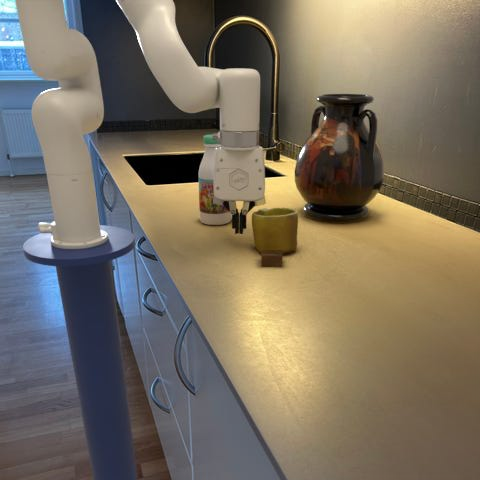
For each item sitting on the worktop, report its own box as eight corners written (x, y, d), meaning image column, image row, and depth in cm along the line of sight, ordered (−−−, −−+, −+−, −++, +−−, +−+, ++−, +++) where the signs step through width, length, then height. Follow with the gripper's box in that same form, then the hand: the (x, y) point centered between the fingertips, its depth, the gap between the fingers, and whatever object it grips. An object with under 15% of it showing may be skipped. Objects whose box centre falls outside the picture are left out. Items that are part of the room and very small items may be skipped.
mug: (312, 247, 101) (297, 199, 99) (264, 266, 101) (247, 218, 98) (299, 240, 113) (285, 197, 110) (255, 256, 113) (240, 213, 110)
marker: (261, 266, 98) (261, 254, 97) (261, 261, 100) (261, 249, 99) (282, 266, 98) (282, 255, 97) (281, 261, 100) (281, 249, 99)
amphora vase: (396, 217, 128) (413, 95, 115) (339, 233, 116) (350, 100, 103) (332, 200, 143) (340, 91, 130) (275, 213, 131) (278, 95, 118)
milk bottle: (197, 217, 128) (194, 133, 119) (228, 216, 129) (227, 132, 120) (202, 226, 121) (199, 138, 112) (234, 224, 123) (233, 137, 113)
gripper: (198, 142, 95) (201, 237, 104) (279, 143, 95) (275, 238, 103) (202, 136, 102) (205, 226, 110) (277, 137, 101) (274, 227, 110)
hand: (239, 231), depth 107 cm, fingers closed
